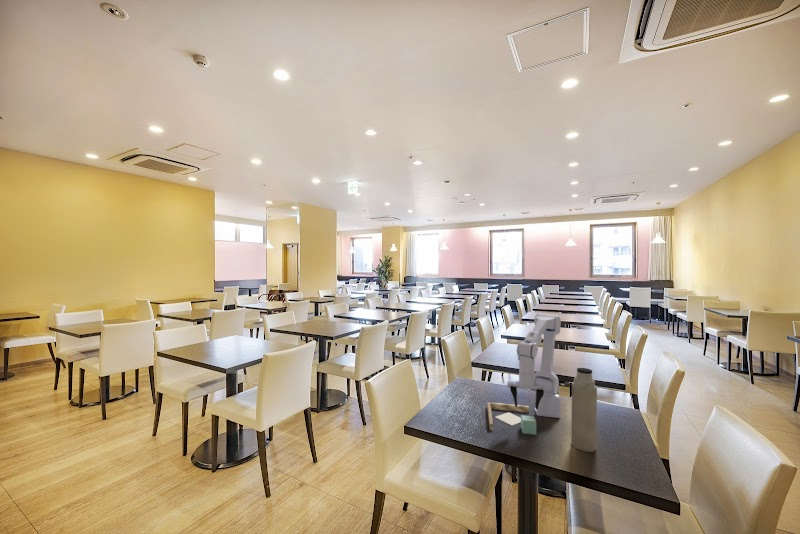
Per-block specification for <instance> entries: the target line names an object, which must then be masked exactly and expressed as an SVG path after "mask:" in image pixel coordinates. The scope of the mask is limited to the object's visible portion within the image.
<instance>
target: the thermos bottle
mask: <svg viewBox="0 0 800 534" xmlns="http://www.w3.org/2000/svg"><path fill="white" fill-rule="evenodd" d="M595 384H596V380H595V379H594V378H593V370H592V369H590V368H585V367H578V368H576V375H575V376H574V378H573V381H572V382H571V433H570V435H571V441H570V442H571V445H572V447H574V448H575V449H577V450H579V451H583V452H587V453H588V452H592V453H593V452H595V451H596V450H597V420H598V419H597V417H598V416H597V413H598V411H597V410H598V406H597V404H598V399H597V398H598V387H597V385H595Z"/></svg>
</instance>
